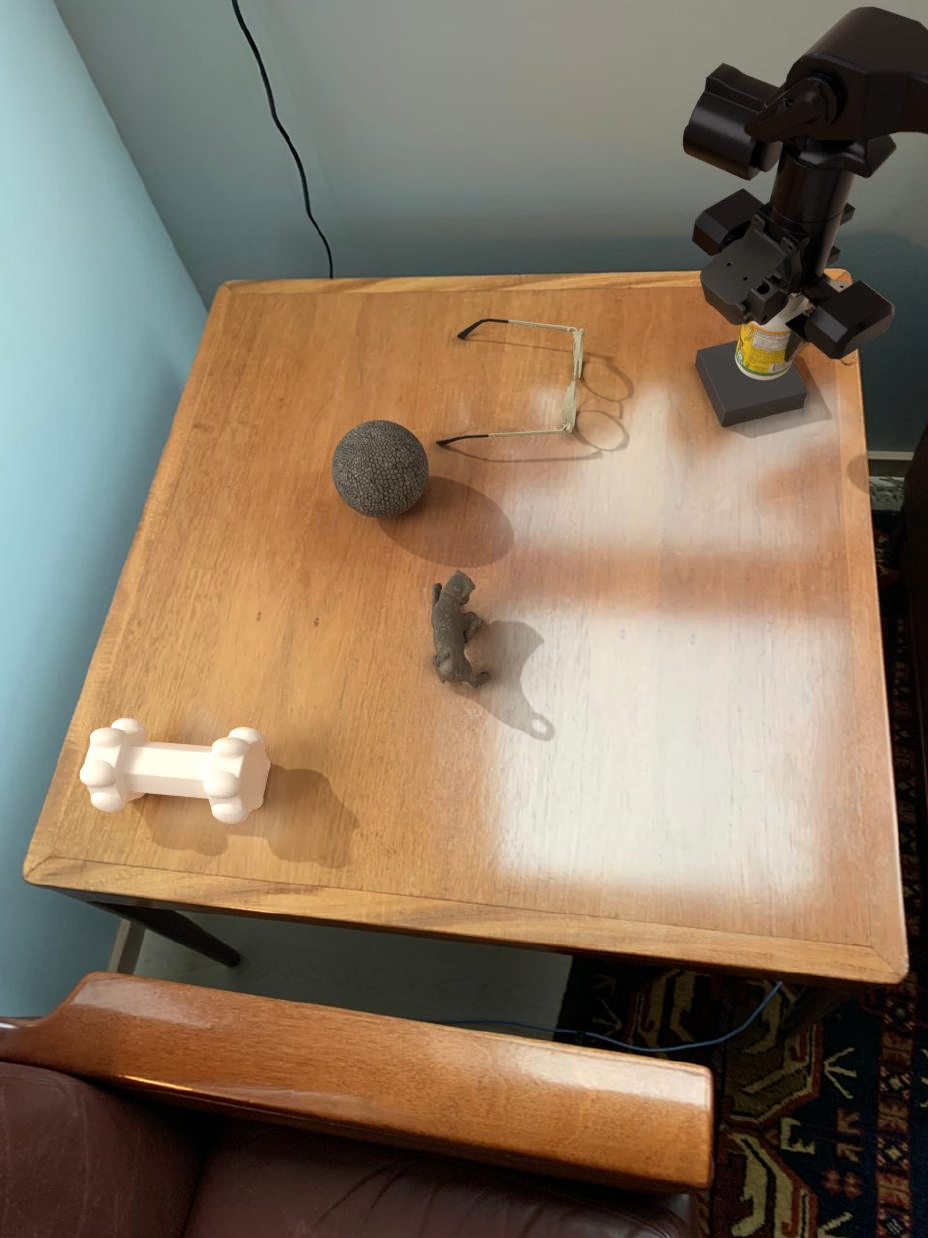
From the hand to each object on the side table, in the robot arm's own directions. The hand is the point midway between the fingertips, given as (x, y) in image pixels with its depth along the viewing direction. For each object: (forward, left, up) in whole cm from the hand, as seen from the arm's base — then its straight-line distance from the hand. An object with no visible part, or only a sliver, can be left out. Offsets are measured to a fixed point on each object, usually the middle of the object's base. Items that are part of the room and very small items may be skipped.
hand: (768, 340), depth 82 cm
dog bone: (+63, +25, -13) cm, 69 cm away
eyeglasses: (+23, -12, -13) cm, 29 cm away
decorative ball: (+39, -2, -13) cm, 41 cm away
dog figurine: (+35, +17, -13) cm, 41 cm away
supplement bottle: (0, 0, -3) cm, 3 cm away
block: (-2, -5, -13) cm, 14 cm away
